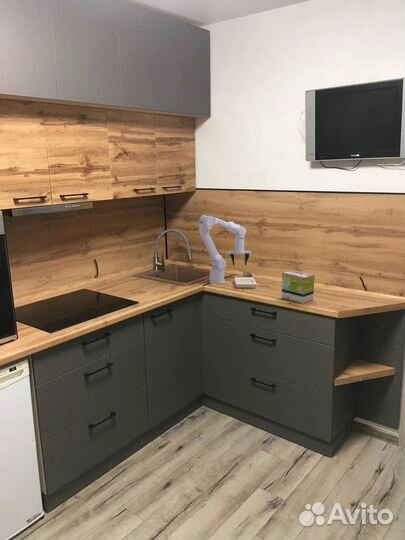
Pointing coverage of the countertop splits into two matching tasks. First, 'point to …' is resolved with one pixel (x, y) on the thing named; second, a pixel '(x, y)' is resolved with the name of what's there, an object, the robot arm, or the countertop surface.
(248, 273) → the walnut block
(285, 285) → the tea box
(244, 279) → the white tray
